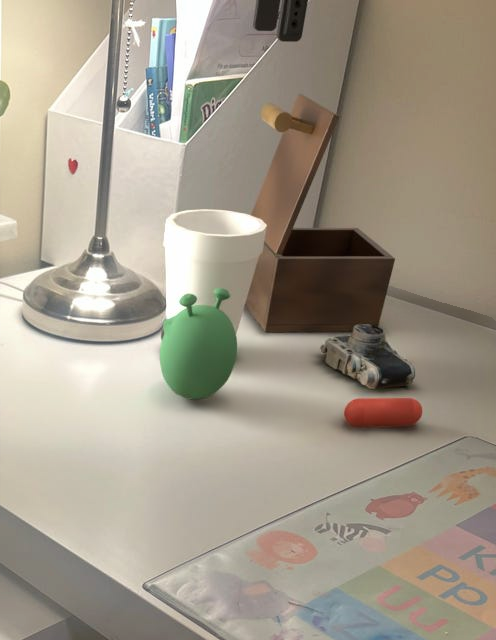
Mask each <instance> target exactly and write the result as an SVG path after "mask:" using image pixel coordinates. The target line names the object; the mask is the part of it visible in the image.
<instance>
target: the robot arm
mask: <svg viewBox="0 0 496 640" xmlns="http://www.w3.org/2000/svg"><path fill="white" fill-rule="evenodd" d="M308 1H309V0H256V1H255V9H254V14H253V16H254V17H253V21H252V27H253V29H254V30H255V31H259V32H273V31H274V30H276V28H277V30H276V39H278V41H280V42H284V43H285V42H287V43H288V42H289V43H291V42H293V43H296V42H299V41H300V40H301V39H302V38H303V32H304V27H305V20H306V15H307V9H308V3H309V2H308Z"/></svg>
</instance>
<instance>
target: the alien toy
mask: <svg viewBox="0 0 496 640" xmlns="http://www.w3.org/2000/svg"><path fill="white" fill-rule="evenodd" d="M213 292H214V295H215V296H216V298H217V300H216V303H215V306H214V307H213V306H208V305H194V306H192V305H193V304H194V303H195V302H196V301H197V297H196V296H195V295H193V294H185V295H183V296H182V297H181V298H180V300H179V303H180V305H182V306H184V307H186V308H185V309H183V310H182V311H180V312H179V313H178V314H177V315H175V316H173V317H171V318H169V319H167V318H166V319H164V320H163V322H162V323H163V324H162V329H161V332H160V347H159V364H160V370H161V375H162V377H163V379H164V381H165V383H166V385H167V386H168V388H169V389H171V391H173V393H175V394H176V395H178V396H180V397H182V398H185V399H189V400H201V399H206V398H209V397H210V396H212V395H214V394H216V393H217V392H219V390H221V389H222V388H223V387H224V386H225V384H226V383H227V381H228V380H229V378H230V377H231V374H232V372H233V370H234V367H235V364H236V361H237V356H238V355H237V354H238V339H237V333H235V330H234V327H233V324H232V322H231V320H230V319H229V318H228V316H227V315H226V314H225V313H224V312H223V311H221V310H219V307H220V304H221V302H222V300H225V299H228V298H229V297H230V294H229V292H228V291H227V290H226V289H223V288H218V289H215V290H214V291H213Z"/></svg>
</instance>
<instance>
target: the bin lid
mask: <svg viewBox="0 0 496 640" xmlns="http://www.w3.org/2000/svg"><path fill="white" fill-rule="evenodd" d="M260 113H261V114H260V117H261V120H262V121H263V122H264V123H266V124H267V125H268V126H269V127H271V128H272V129H274V130H275V131H277V133H282V135H281V137H280V140H279V142H278V145H277V147H276V150H275V152H274V155H273V157H272V160H271V162H270V165H269V167H268V170H267V173H266V175H265V179H264V181H263V182H262V185H261V188H260V191H259V192H258V195H257V198H256V201H255V203H254V205H253V207H252V208H253V209H252V210H251V214H250V215H251V216H254V217H256V218H259V219H261V220H262V221H263V222H264V223H265V224H266V225H267V228H266V234H265V240H264V241H265V242H266V243H267V244H268V246H269V247H270V248H271V249H272V250H273V251H274V252H275V253H276V254H279V255H282V253H283V250H284V248H285V246H286V243H287V241H288V239H289V236H290V234H291V231H292V229H293V228H295V224H296V222H297V219H298V217H299V215H300V212H301V211H302V208H303V206H304V203H305V201H306V198H307V196H308V194H309V191H310V188H311V186H312V184H313V181H314V179H315V176H316V174H317V172H318V169H319V167H320V165H321V162H322V160H323V158H324V155H325V153H326V150H327V148H328V145H329V144H330V141H331V139H332V137H333V134H334V131H335V129H336V126H337V124H338V122H339V120H340V118H341V116H340V115H339V114H337V113H335V112H334V111H332V110H331V109H329V108H327V107H326V106H324V105H322V104H320V103H318V102H317V101H315V100H313V99H312V98H310V97H308V96H306V95H305V94H302V93H298V94H297V96H296V99H295V101H294V103H293V106H292V109H291V112H290V113H289V112H287V111H286V110H285V109H283V108H281V107H280V106H278V105H277V104H275V103H271V102H270V103H267V104H266V105H264V106H263V108H262V109H261V112H260Z"/></svg>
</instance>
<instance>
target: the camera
mask: <svg viewBox="0 0 496 640" xmlns="http://www.w3.org/2000/svg"><path fill="white" fill-rule="evenodd" d="M386 337H387V336H386V331H385V329H383V328H381V327H379V326H378V327H375V326H371V325H369V324H360V325H356V326H354V328H353V332H352V333H350V334H349V335H338V336H331V337H328V338H327V339H326V340H325V342H324V344H321V345H320V347H319V350H320V353H321V354H324V355H325V364H326V365H327V366H329V367H331V368H333V369H334V370H339V371H341V373H342V374H344V375H347V376H349V377H350V378H352V379H355V380H358V382H360V384H361V385H362V386H366V387H367V388H368V389H370V390H374V389H375V390H376V389H385V388H396V387H403V386H404V387H405V386H410V385H412V384H413V382H414V379H415V378H416V368H415V366H414V365H413V363H412V362H410V361H408V359H407V358H404V357H403V356H400V355H399V354H398V352H397V351H396V350H395V349H393V348H392V347H391V345H390V344H389V342H388V340H387V338H386Z"/></svg>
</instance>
